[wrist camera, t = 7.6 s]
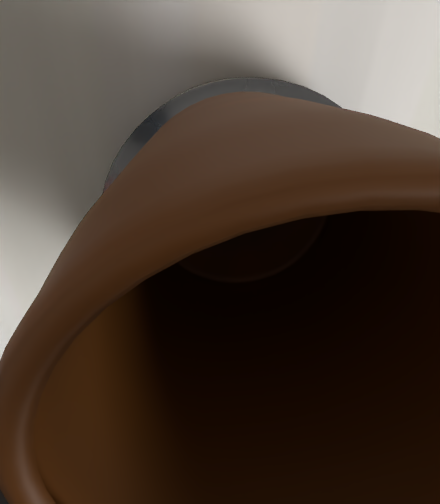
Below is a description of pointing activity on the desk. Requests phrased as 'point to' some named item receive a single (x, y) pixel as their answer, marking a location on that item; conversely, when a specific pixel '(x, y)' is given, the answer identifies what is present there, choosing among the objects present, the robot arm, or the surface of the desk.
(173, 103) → the grey metal dish
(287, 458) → the mug
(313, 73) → the desk surface
